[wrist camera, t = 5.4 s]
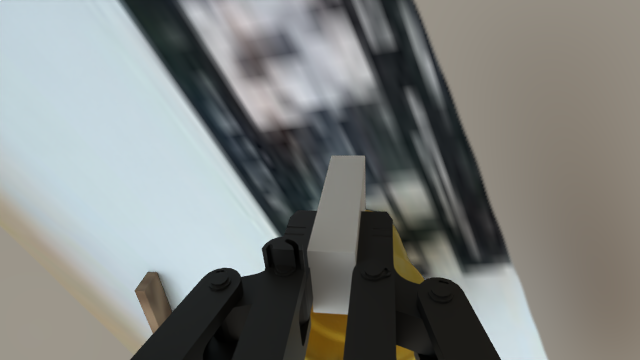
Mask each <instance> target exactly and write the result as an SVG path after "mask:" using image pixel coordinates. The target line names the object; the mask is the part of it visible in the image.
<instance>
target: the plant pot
mask: <svg viewBox="0 0 640 360" xmlns="http://www.w3.org/2000/svg"><path fill="white" fill-rule="evenodd" d="M365 211H370V210H365ZM393 260H394V268H395V270H396V272H397V273H398V274H399V275H400V276H401V277H403V278H404V279H406V280H408V281H411V282H414V283H417V284H420V283H422V282H423V281H424V278H423V277H422V275H421V274H420V273H419V271H418V270H417V269H416V268H415V267H414V266H413V265H412V264H411V263H410V261H409V258H408V256H407V253H406V251H405V249H404V246H403V244H402V241H401V239H400V236H399V234H398V232H397V230H396V228H395V226H394V225H393ZM310 315H311V330H310V335H309V340H308V345H307V350H306V355H305V360H343V355H344V345H345V336H346V327H347V317H348V315H346V314H331V313H316V312H313V303H312V308H311V313H310ZM396 358H397V360H416V359H415V356H414V351H411V350H408V349H406V348H403V347H401V346H398V345H396Z"/></svg>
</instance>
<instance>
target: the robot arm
mask: <svg viewBox="0 0 640 360" xmlns="http://www.w3.org/2000/svg"><path fill="white" fill-rule="evenodd" d="M365 207H366V202H365V156H331V160H330V164H329V168H328V172H327V175H326V179H325V183H324V187H323V191H322V195H321V199H320V202H319V206H318V210H317V211H302V210H298V211H297V212H296V213H295V214H294V215H292V216H291V217H290V219H289V222H288V225H287V228H286V231H285V235H284V236H283V237H278V238H275V239H272V240H270V241H269V242H267V243H266V244H265V245H264V246H263V248H262V252H263V257H264V263H265V271H263V272H261V273H258V274H254V275H249V276H244V277H241V276H240V274H239V273H238V272H237V271H236V270H234V269H232V268H221V269H216V270H214V271H212V272H209V273H208V274H207V275H206V276H204V277H203V278H202V279H201V281H200V282H199V283H198V284H197V285H196V286H195V287H194V288H193V290H192V291H191V292H190V293H189V294H188V295H187V296H186V297H185V299H184V300H183V301H182V302H181V303H180V304H179V305H178V306H177V308H176V309H175V310H174V311H173V312H172V313H171V314H170V315H169V317H168V318H167V319H166V320H165V321H164V322H163V323H162V324H161V326H160V327H159V328H158V329H157V330H156V331H155V332H154V333H153V335H152V336H151V337H150V338H149V339H148V340H147V341H146V343H145V344H144V345H143V346H142V347H141V348H140V349H139V350H138V352H137V353H136V354H135V355H134V356H133V357H132V358H131V360H305V355H306V350H307V345H308V340H309V335H310V330H311V315H310V313H311V308H312V303H313V312H316V313H331V314H346V315H348V317H347V327H346V336H345V345H344V355H343V360H397V358H396V345H398V346H401V347H403V348H406V349H408V350H411V351H414V356H415V359H416V360H501V359H500V357H499V355H498V353H497V352H496V350H495V348H494V346H493V344H492V343H491V341H490V339H489V337H488V335H487V333H486V332H485V330H484V328H483V326H482V324H481V323H480V321H479V319H478V317H477V315H476V314H475V312H474V310H473V308H472V306H471V305H470V303H469V301H468V299H467V297H466V296H465V294H464V292H463V290H462V289H461V288H460V287H459V286H458V285H457V284H456V283H454V282H452V281H451V280H448V279H444V278H430V279H426V280H424V281H423V282H422V283H420V284H417V283H414V282H411V281H408V280H406V279H404V278H403V277H401V276H400V275H399V274H398V273H397V272H396V270H395V268H394V260H393V220H392V218H391V217H390V216H389V214H388V213H387V212H375V211H365Z"/></svg>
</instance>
